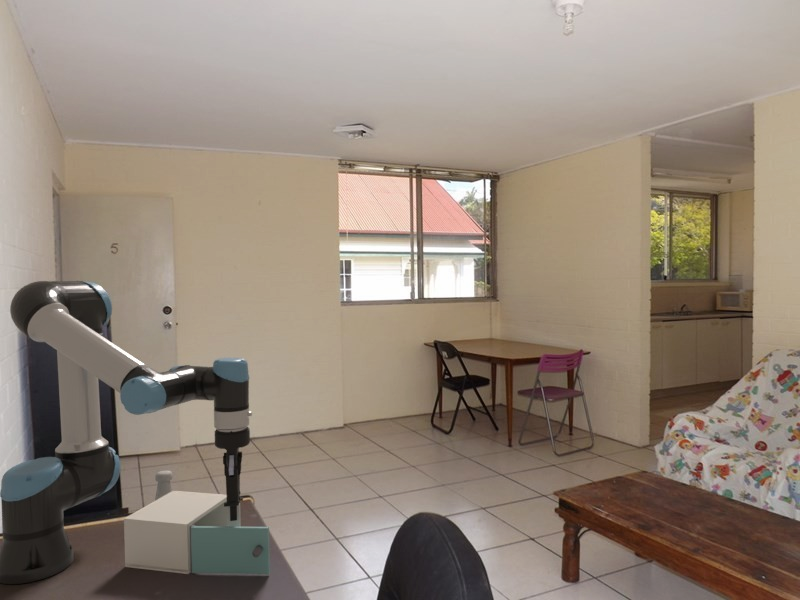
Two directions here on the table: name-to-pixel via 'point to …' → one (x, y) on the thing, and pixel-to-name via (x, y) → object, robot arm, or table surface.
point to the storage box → (170, 529)
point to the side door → (229, 549)
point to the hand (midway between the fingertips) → (234, 532)
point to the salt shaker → (163, 483)
